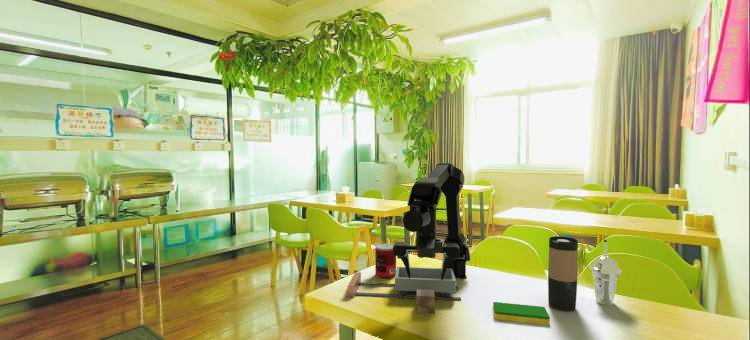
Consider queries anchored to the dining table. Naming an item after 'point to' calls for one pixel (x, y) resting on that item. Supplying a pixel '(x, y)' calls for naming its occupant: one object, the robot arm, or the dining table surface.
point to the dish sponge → (521, 313)
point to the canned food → (385, 261)
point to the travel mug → (562, 273)
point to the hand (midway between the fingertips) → (425, 278)
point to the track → (357, 282)
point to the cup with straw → (605, 277)
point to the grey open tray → (425, 280)
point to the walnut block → (425, 301)
